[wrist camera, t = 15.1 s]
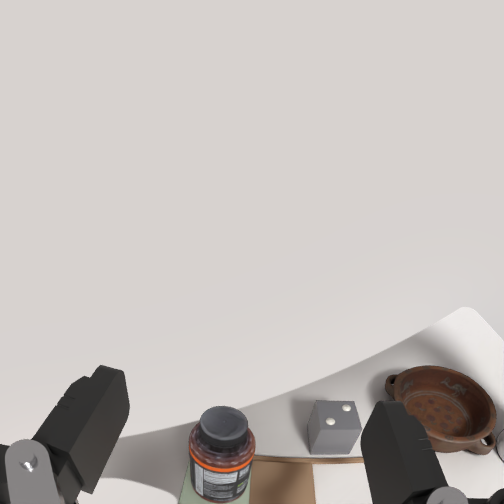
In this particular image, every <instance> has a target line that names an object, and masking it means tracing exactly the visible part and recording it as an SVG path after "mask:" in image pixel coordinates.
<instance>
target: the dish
mask: <svg viewBox="0 0 504 504" xmlns="http://www.w3.org/2000/svg"><path fill="white" fill-rule="evenodd" d="M391 384H394V385H391ZM385 389H386V391H387V393H388V394H389V395H390V396H391V397H392V398H393V399H394V401H401V402H402V403H403V404H404V406H405V409H406V411H407V413H408V415H414V416H415V417H416V418H417V419H418V420H419V421H420V422H421V423H422V424H423V426H424V428H425V430H426V433H427V435H428V437H429V438H428V440H430V442H431V444H432V449H433V450H434V451H438V452H443V453H451V452H458V451H461V450H465V449H468V450H470V451H472V452H474V453H476V454H480V455H486V454H488V453H489V452H490V451H491V450H492V449H493V448H494V446H495V444H496V440H495V437H494V435H493V433H492V432H491V431H492V430H493V429H494V427H495V423H496V409H495V406H494V404H493V401H492V399H491V398H490V396H489V395H488V394H487V392H486V391H485V390H484V389H483V388H482V387H481V386H480V385H479V384H478V383H476V382H475V381H474V380H473V379H471V378H470V377H468V376H466V375H464V374H462V373H460V372H457V371H454V370H452V369H448V368H444V367H439V366H419V367H414V368H410V369H407V370H405V371H403V372H402V373H400V374H399V375H390V376H389V377H388V378H387V380H386V384H385ZM481 439H484V440H485V441H486V443H487V445H485V444H483V443H482V441H481Z"/></svg>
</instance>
